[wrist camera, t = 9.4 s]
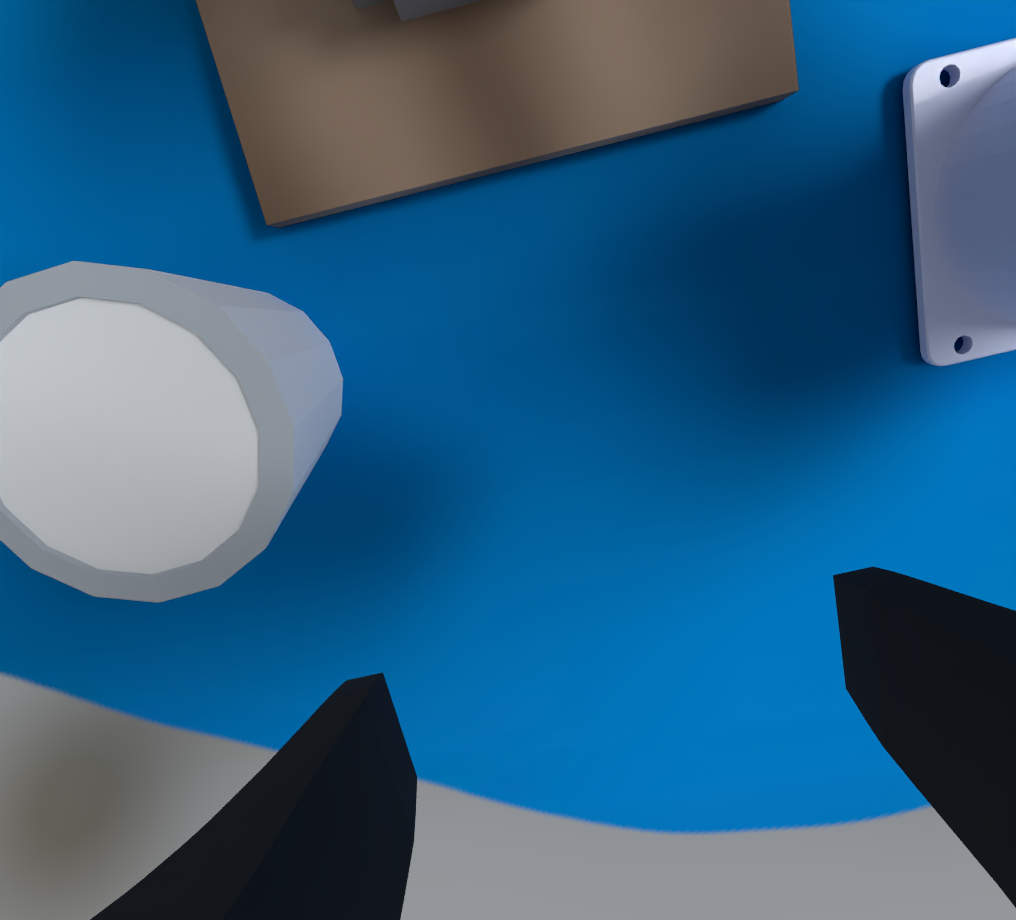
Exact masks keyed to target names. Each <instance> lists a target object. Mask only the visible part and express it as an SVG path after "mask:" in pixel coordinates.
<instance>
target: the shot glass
mask: <svg viewBox="0 0 1016 920" xmlns="http://www.w3.org/2000/svg"><path fill="white" fill-rule="evenodd" d="M342 390H343V377H342V374H341V371H340V369H339V366H338V363H337V360H336V358H335V355H334V352H333V349H332V346H331V344H330V342H329V340H328V339H327V338H326V337H325V336H324V335H323V334H322V332H321V331H320V330H319V329H318V328H317V327H316V325H315V324H314V323H313V322H312V321H311V320H310V319H309V317H308V316H307V315H306V314H305V313H304V312H303V311H301V310H299V309H297V308H296V307H294V306H292V305H290V304H288V303H286V302H284V301H282V300H281V299H279V298H277V297H275V296H273V295H271V294H269V293H266V292H261V291H256V290H251V289H246V288H241V287H236V286H231V285H226V284H221V283H216V282H211V281H205V280H200V279H195V278H190V277H185V276H180V275H175V274H170V273H165V272H160V271H155V270H150V269H141V268H133V267H124V266H115V265H106V264H97V263H88V262H80V261H71V262H68V263H65V264H62V265H59V266H56V267H52V268H49V269H46V270H43V271H40V272H37V273H34V274H30V275H27V276H24V277H21V278H18V279H15V280H11V281H8V282H6V283H5V284H4V285H3V286H2V287H1V288H0V540H1V541H2V542H3V543H4V544H5V545H6V546H7V547H8V548H10V549H11V550H12V551H13V552H14V553H15V554H16V555H17V556H18V557H19V558H20V559H22V560H23V561H24V562H25V563H26V564H27V565H28V566H29V567H30V568H32V569H34V570H36V571H38V572H40V573H43V574H45V575H47V576H49V577H52V578H54V579H56V580H58V581H60V582H63V583H65V584H67V585H69V586H72V587H74V588H76V589H78V590H80V591H83V592H85V593H87V594H89V595H92V596H94V597H103V598H114V599H125V600H136V601H146V602H157V603H160V602H164V601H167V600H171V599H174V598H178V597H182V596H185V595H189V594H192V593H196V592H200V591H203V590H207V589H210V588H214V587H218V586H220V585H221V584H222V583H224V582H225V581H226V580H227V579H229V578H230V577H231V576H232V575H234V574H235V573H236V572H237V571H238V570H240V569H241V568H242V567H243V566H245V565H246V564H247V563H248V562H250V561H251V560H252V559H253V558H255V557H256V556H257V555H258V554H260V553H261V552H262V551H263V550H265V549H266V547H267V546H268V544H269V542H270V540H271V539H272V537H273V535H274V534H275V532H276V530H277V529H278V527H279V525H280V523H281V522H282V520H283V518H284V517H285V515H286V513H287V512H288V510H289V508H290V506H291V505H292V503H293V501H294V500H295V498H296V496H297V495H298V493H299V491H300V489H301V488H302V486H303V484H304V483H305V481H306V479H307V478H308V476H309V474H310V473H311V471H312V469H313V467H314V466H315V464H316V462H317V461H318V459H319V457H320V456H321V454H322V452H323V450H324V449H325V447H326V445H327V443H328V441H329V439H330V437H331V435H332V433H333V431H334V429H335V427H336V425H337V423H338V421H339V419H340V417H341V412H342Z"/></svg>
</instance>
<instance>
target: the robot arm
mask: <svg viewBox="0 0 1016 920" xmlns="http://www.w3.org/2000/svg"><path fill="white" fill-rule="evenodd" d="M943 69H945V70H946V71H947V72H949V75H950V82H949V85H948V86H947V87H944V86H943V85H942V84H941V83H940V79H939V77H940V72H941V71H942V70H943ZM903 101H904V116H905V131H906V146H907V160H908V175H909V190H910V205H911V219H912V234H913V249H914V264H915V278H916V293H917V308H918V323H919V338H920V352H921V355H922V358H923V359H924V360H925V361H926V362H927V363H929V364H932V365H936V366H947V365H951V364H955V363H960V362H964V361H969V360H973V359H977V358H982V357H986V356H990V355H995V354H999V353H1003V352H1008V351H1012V350H1016V38H1013V39H1010V40H1006V41H1002V42H998V43H994V44H990V45H986V46H982V47H978V48H974V49H970V50H966V51H962V52H958V53H954V54H950V55H946V56H942V57H938V58H935V59H931V60H927V61H925V62H923V63H921V64H919V65H917V66H915V67H913V68H912V69H911V70H910V71H909V72H908V73H907V75H906V77H905V79H904V82H903ZM959 337H962V338H963V346H962V347H961V349H960V350H959V351H957V352H956V351H955V349H954V344H955V341H956V340H957V339H958V338H959ZM833 578H834V587H835V596H836V605H837V614H838V622H839V631H840V640H841V649H842V658H843V667H844V675H845V684H846V689H847V691H848V692H849V694H850V696H851V697H852V699H853V701H854V702H855V704H856V705H857V707H858V709H859V710H860V712H861V713H862V715H863V717H864V718H865V720H866V721H867V723H868V724H869V726H870V728H871V729H872V731H873V732H874V734H875V735H876V737H877V738H878V740H879V741H880V743H881V744H882V746H883V747H884V748H885V749H886V751H887V752H888V753H889V754H890V756H891V757H892V758H893V759H894V761H895V762H896V763H897V764H898V766H899V767H900V768H901V769H902V770H903V772H904V773H905V774H906V775H907V776H908V778H909V779H910V780H911V781H912V783H913V784H914V785H915V786H916V787H917V789H918V790H919V791H920V792H921V793H922V795H923V796H924V797H925V798H926V799H927V801H928V802H929V803H930V804H931V805H932V807H933V808H934V809H935V810H936V811H937V813H938V814H939V815H940V816H941V817H942V819H943V820H944V821H945V822H946V823H947V824H948V826H949V827H950V828H951V829H952V830H953V832H954V833H955V834H956V835H957V836H958V838H959V839H960V840H961V841H962V842H963V844H964V845H965V846H966V847H967V848H968V850H969V851H970V852H971V853H972V854H973V856H974V857H975V858H976V859H977V860H978V862H979V863H980V864H981V865H982V866H983V867H984V869H985V870H986V871H987V872H988V873H989V875H990V876H991V877H992V878H993V880H994V881H995V882H996V883H997V884H998V886H999V887H1000V888H1001V889H1002V891H1003V892H1004V893H1005V895H1006V896H1007V897H1008V898H1009V900H1010V901H1011V902H1012V904H1013V905H1014V906H1015V907H1016V611H1014V610H1011V609H1008V608H1005V607H1002V606H998V605H995V604H992V603H989V602H986V601H983V600H980V599H977V598H974V597H971V596H968V595H965V594H961V593H958V592H955V591H952V590H949V589H946V588H943V587H940V586H937V585H934V584H931V583H928V582H925V581H922V580H919V579H916V578H912V577H909V576H906V575H903V574H899V573H896V572H892V571H889V570H885V569H881V568H876V567H869V568H865V569H860V570H856V571H851V572H846V573H842V574H837V575H833ZM416 792H417V775H416V772H415V769H414V766H413V763H412V760H411V757H410V754H409V751H408V748H407V745H406V742H405V739H404V736H403V733H402V730H401V727H400V723H399V720H398V717H397V714H396V711H395V708H394V705H393V702H392V699H391V696H390V693H389V690H388V687H387V684H386V681H385V678H384V675H383V673H379V674H374V675H369V676H365V677H360V678H356V679H351V680H346V681H345V682H344V683H343V684H342V685H341V686H340V687H339V688H338V689H337V690H336V691H335V692H334V693H333V694H332V695H331V696H330V697H329V698H328V699H327V700H326V701H325V702H324V703H323V704H322V705H321V706H320V707H319V708H318V709H317V711H316V712H315V713H314V714H313V715H312V716H311V717H310V718H309V719H308V720H307V721H306V722H305V724H304V725H303V726H302V727H301V728H300V729H299V730H298V731H297V732H296V733H295V734H294V735H293V736H292V737H291V739H290V740H289V741H288V742H287V743H286V744H285V745H284V746H283V747H282V748H281V749H280V750H279V751H278V752H277V754H276V755H275V756H274V757H273V758H272V759H271V760H270V761H269V762H268V763H267V764H266V765H265V766H264V767H263V768H262V769H261V770H260V771H259V772H258V773H257V774H256V775H255V776H254V777H253V778H252V779H251V780H250V781H249V782H248V783H247V784H246V785H245V786H244V787H243V788H242V789H241V790H240V791H239V792H238V793H237V794H236V795H235V796H234V797H233V798H232V799H231V800H230V801H229V802H228V803H227V804H226V805H225V806H224V807H223V808H222V809H221V810H220V811H219V812H218V813H217V814H216V815H215V816H214V817H213V818H212V819H211V820H210V821H209V822H208V823H206V824H205V825H204V826H203V827H202V828H201V829H200V830H199V831H198V832H197V833H196V834H195V835H193V836H192V837H191V838H190V839H189V840H188V841H187V842H186V843H185V844H183V845H182V846H181V847H180V848H179V849H178V850H177V851H175V852H174V853H173V854H172V855H171V856H170V857H168V858H167V859H166V860H165V861H164V862H162V863H161V864H160V865H159V866H158V867H157V868H155V869H154V870H153V871H152V872H151V873H149V874H148V875H147V876H146V877H145V878H144V879H142V880H141V881H140V882H139V883H138V884H136V885H135V886H134V887H132V888H131V889H130V890H129V891H128V892H126V893H125V894H124V895H122V896H121V897H120V898H118V899H117V900H116V901H114V902H113V903H112V904H110V905H109V906H108V907H106V908H105V909H104V910H102V911H101V912H100V913H98V914H97V915H96V916H94V917H93V918H92V919H91V920H400V917H401V912H402V907H403V901H404V896H405V890H406V884H407V878H408V873H409V867H410V860H411V855H412V848H413V843H414V831H415V815H416Z"/></svg>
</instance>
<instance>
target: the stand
mask: <svg viewBox="0 0 1016 920" xmlns="http://www.w3.org/2000/svg"><path fill="white" fill-rule="evenodd" d="M196 3H197V6H198V9H199V12H200V15H201V19H202V22H203V25H204V28H205V31H206V34H207V38H208V41H209V44H210V47H211V50H212V53H213V57H214V60H215V63H216V66H217V69H218V72H219V76H220V79H221V82H222V85H223V88H224V91H225V95H226V98H227V101H228V104H229V107H230V110H231V114H232V117H233V120H234V123H235V126H236V129H237V133H238V136H239V139H240V142H241V145H242V148H243V152H244V155H245V158H246V161H247V164H248V167H249V171H250V174H251V177H252V180H253V183H254V186H255V190H256V193H257V196H258V199H259V202H260V205H261V209H262V212H263V215H264V218H265V221H266V224H267V225H269V226H273V227H278V228H280V227H284V226H287V225H291V224H295V223H299V222H303V221H307V220H311V219H315V218H319V217H323V216H327V215H331V214H335V213H339V212H343V211H347V210H351V209H355V208H359V207H363V206H367V205H370V204H374V203H378V202H382V201H386V200H390V199H394V198H398V197H402V196H406V195H410V194H414V193H418V192H422V191H426V190H430V189H434V188H438V187H442V186H446V185H449V184H453V183H457V182H461V181H465V180H469V179H473V178H477V177H481V176H485V175H489V174H493V173H497V172H501V171H505V170H509V169H513V168H517V167H521V166H525V165H529V164H532V163H536V162H540V161H544V160H548V159H552V158H556V157H560V156H564V155H568V154H572V153H576V152H580V151H584V150H588V149H592V148H596V147H600V146H604V145H608V144H611V143H615V142H619V141H623V140H627V139H631V138H635V137H639V136H643V135H647V134H651V133H655V132H659V131H663V130H667V129H671V128H675V127H679V126H683V125H687V124H690V123H694V122H698V121H702V120H706V119H710V118H714V117H718V116H722V115H726V114H730V113H734V112H738V111H742V110H746V109H750V108H754V107H758V106H762V105H766V104H770V103H773V102H777V101H781V100H784V99H785V98H787V97H789V96H790V95H792V94H793V93H795V92H797V91H798V90H799V87H798V77H797V68H796V58H795V49H794V39H793V30H792V20H791V11H790V2H789V0H196Z"/></svg>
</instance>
